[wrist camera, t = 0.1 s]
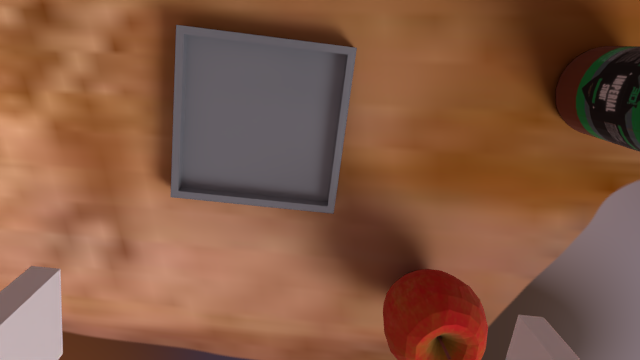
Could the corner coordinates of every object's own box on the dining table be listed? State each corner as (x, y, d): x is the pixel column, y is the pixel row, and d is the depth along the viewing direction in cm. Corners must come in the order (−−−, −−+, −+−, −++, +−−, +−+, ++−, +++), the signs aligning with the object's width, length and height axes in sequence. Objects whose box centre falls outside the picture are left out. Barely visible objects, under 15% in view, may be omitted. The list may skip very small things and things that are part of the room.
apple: (355, 270, 44) (371, 340, 33) (434, 227, 43) (477, 286, 33) (396, 336, 46) (424, 421, 36) (473, 296, 45) (524, 372, 35)
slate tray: (182, 25, 37) (176, 24, 35) (354, 47, 38) (356, 47, 36) (176, 190, 41) (170, 197, 39) (332, 206, 42) (333, 213, 40)
